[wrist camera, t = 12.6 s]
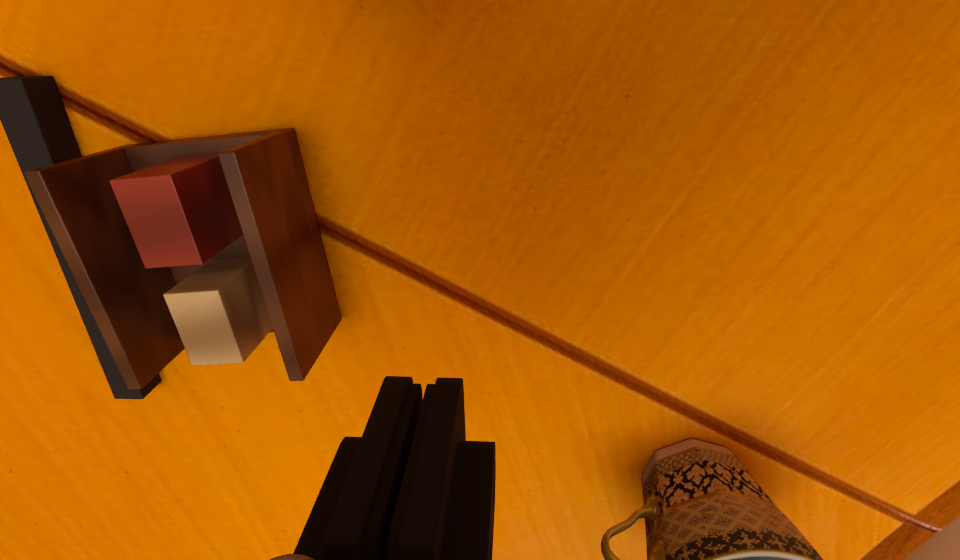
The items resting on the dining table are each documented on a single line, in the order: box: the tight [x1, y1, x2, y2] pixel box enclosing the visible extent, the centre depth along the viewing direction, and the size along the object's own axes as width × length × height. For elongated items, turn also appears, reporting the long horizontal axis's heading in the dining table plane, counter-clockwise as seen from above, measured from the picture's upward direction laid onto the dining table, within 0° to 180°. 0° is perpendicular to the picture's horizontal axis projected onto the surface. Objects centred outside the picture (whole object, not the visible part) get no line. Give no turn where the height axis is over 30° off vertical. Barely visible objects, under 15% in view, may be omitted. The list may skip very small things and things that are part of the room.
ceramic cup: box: [601, 439, 823, 560], centre depth 32 cm, size 13×10×10 cm
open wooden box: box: [24, 128, 341, 389], centre depth 28 cm, size 12×10×7 cm
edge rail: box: [0, 76, 161, 399], centre depth 31 cm, size 20×2×2 cm, turn 2°
